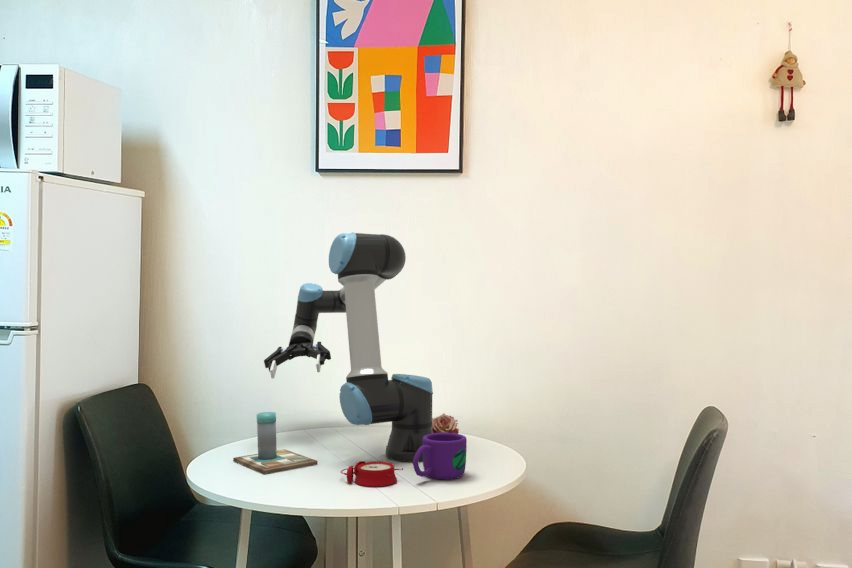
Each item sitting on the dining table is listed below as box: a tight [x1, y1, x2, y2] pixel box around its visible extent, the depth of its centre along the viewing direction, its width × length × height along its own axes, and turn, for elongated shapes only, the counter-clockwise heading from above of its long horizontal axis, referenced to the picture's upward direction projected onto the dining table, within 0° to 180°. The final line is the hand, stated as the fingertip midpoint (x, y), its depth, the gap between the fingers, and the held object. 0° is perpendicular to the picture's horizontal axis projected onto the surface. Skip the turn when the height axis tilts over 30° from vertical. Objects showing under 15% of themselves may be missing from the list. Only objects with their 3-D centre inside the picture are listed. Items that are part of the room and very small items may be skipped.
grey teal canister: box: [256, 411, 277, 460], centre depth 194 cm, size 5×5×12 cm
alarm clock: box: [340, 460, 404, 488], centre depth 177 cm, size 10×6×15 cm
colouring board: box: [232, 449, 318, 476], centre depth 194 cm, size 18×16×1 cm
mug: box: [412, 433, 468, 481], centre depth 180 cm, size 17×11×10 cm, turn 138°
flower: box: [432, 413, 460, 434], centre depth 223 cm, size 10×9×8 cm
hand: (294, 371), depth 208 cm, fingers open, 13 cm apart
